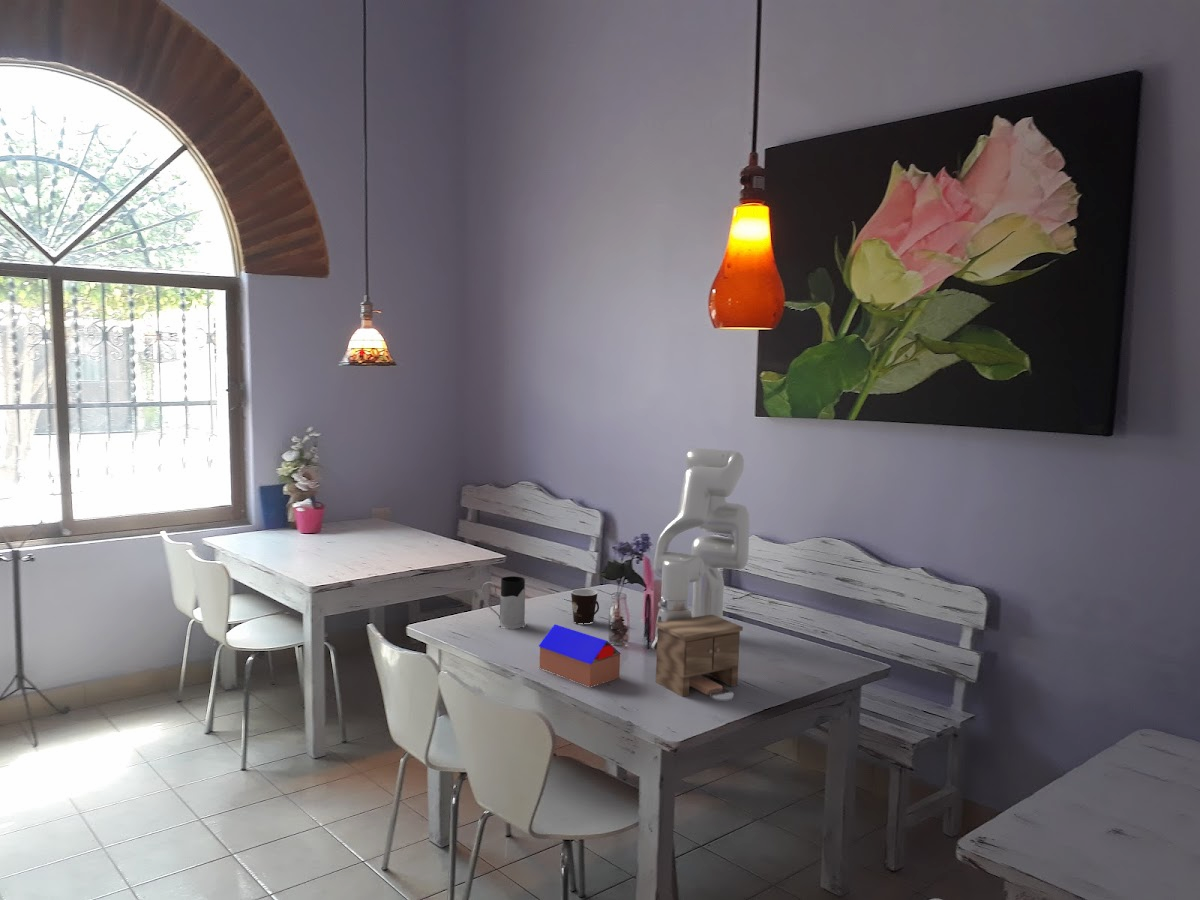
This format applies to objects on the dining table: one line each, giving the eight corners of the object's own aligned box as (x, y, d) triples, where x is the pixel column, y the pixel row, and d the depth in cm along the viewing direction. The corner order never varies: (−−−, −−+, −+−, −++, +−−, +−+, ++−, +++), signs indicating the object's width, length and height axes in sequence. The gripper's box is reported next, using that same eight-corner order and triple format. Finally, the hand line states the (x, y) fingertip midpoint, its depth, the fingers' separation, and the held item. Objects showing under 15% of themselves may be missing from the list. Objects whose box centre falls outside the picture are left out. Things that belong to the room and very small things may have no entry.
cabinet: (653, 681, 241) (655, 622, 240) (709, 670, 251) (711, 614, 250) (683, 698, 230) (686, 637, 228) (741, 686, 240) (744, 627, 238)
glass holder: (523, 629, 285) (525, 582, 283) (479, 627, 285) (479, 581, 284) (527, 621, 293) (528, 576, 292) (483, 620, 294) (484, 574, 292)
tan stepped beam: (659, 669, 251) (659, 644, 251) (673, 666, 254) (674, 642, 253) (706, 694, 233) (707, 668, 232) (722, 691, 236) (723, 665, 235)
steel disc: (704, 697, 232) (705, 691, 232) (719, 692, 236) (720, 686, 236) (723, 704, 227) (723, 698, 227) (738, 699, 232) (738, 693, 231)
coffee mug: (568, 618, 298) (569, 589, 297) (594, 618, 300) (595, 588, 299) (573, 629, 287) (574, 598, 286) (600, 628, 288) (601, 597, 287)
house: (568, 660, 257) (570, 620, 256) (620, 678, 244) (622, 636, 243) (537, 669, 249) (538, 628, 248) (589, 689, 235) (591, 645, 234)
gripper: (657, 611, 241) (654, 677, 243) (707, 603, 250) (704, 668, 251) (641, 604, 247) (639, 669, 249) (690, 597, 256) (688, 660, 258)
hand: (672, 668), depth 250 cm, fingers closed on tan stepped beam, 4 cm apart
